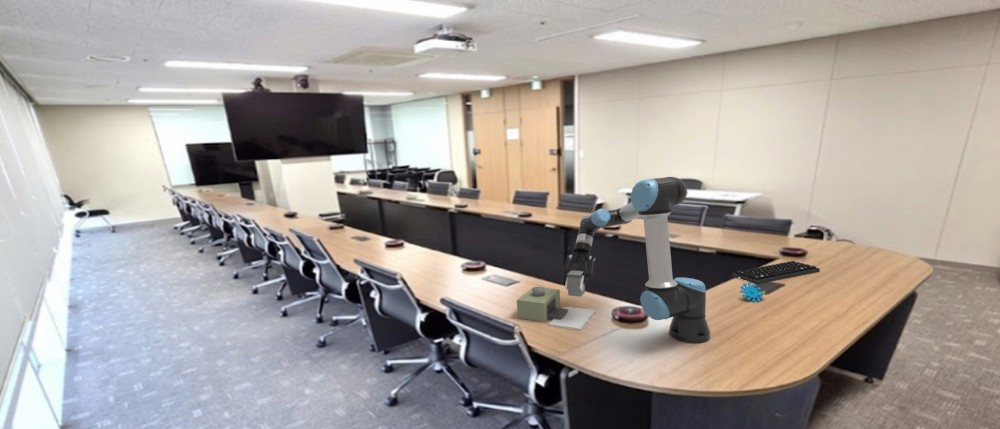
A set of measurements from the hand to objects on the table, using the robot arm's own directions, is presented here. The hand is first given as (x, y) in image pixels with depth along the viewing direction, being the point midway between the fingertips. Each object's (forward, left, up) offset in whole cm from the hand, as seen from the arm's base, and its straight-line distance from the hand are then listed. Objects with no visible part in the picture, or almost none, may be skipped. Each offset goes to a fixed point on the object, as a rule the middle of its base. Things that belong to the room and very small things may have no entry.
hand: (573, 289), depth 186 cm
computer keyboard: (-84, -100, -17) cm, 131 cm away
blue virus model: (-71, -53, -16) cm, 90 cm away
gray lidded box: (0, -4, -3) cm, 5 cm away
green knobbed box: (+11, -4, -16) cm, 19 cm away
